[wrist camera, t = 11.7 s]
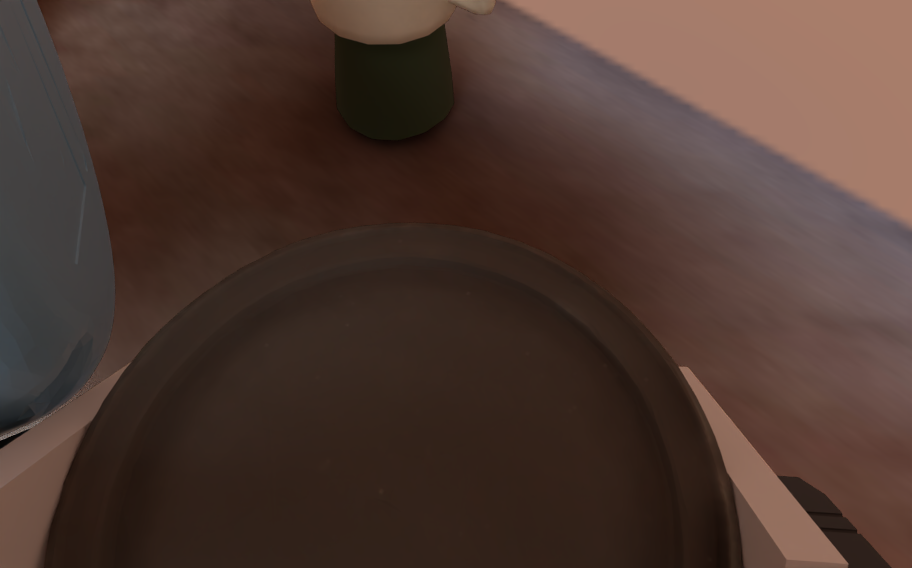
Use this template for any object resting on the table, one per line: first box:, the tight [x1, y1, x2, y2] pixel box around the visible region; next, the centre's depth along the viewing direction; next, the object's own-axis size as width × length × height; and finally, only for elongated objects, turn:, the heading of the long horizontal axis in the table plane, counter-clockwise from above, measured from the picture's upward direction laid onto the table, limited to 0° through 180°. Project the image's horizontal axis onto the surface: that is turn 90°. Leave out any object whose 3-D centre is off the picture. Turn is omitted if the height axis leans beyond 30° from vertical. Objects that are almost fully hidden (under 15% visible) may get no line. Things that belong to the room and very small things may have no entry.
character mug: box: [310, 0, 496, 140], centre depth 29 cm, size 11×7×13 cm, turn 57°
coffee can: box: [44, 223, 742, 568], centre depth 16 cm, size 10×10×14 cm
